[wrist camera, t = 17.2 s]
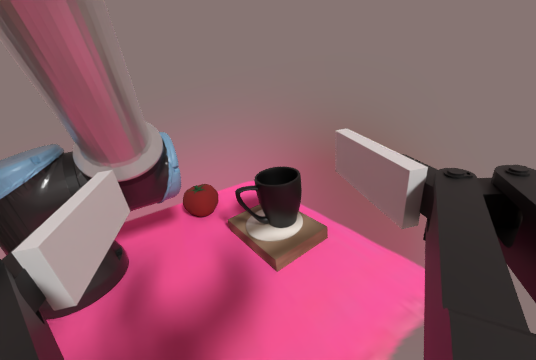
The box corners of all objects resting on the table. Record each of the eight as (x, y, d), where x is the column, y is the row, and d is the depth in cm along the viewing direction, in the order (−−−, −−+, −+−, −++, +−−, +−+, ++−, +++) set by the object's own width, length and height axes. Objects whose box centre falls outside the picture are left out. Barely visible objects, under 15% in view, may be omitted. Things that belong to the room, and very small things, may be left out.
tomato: (209, 222, 56) (201, 194, 53) (180, 219, 59) (171, 192, 56) (226, 204, 63) (220, 178, 60) (200, 201, 66) (193, 176, 63)
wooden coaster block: (230, 229, 53) (227, 218, 52) (274, 206, 59) (273, 196, 58) (277, 271, 41) (275, 258, 40) (327, 237, 47) (327, 225, 46)
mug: (238, 219, 51) (229, 177, 47) (293, 204, 53) (289, 163, 49) (248, 244, 44) (238, 196, 39) (311, 225, 46) (308, 178, 42)
